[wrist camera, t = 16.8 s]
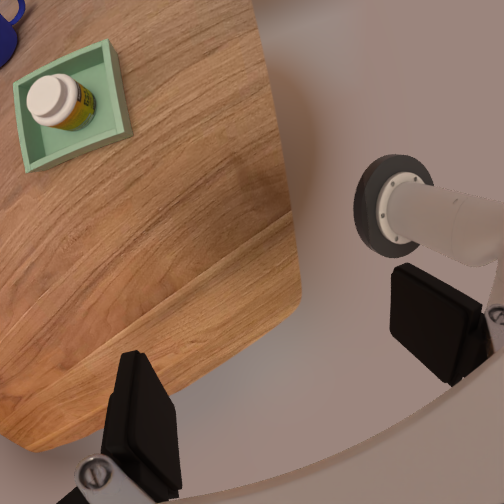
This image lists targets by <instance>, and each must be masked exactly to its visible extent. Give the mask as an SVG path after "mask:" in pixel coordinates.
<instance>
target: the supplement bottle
mask: <svg viewBox="0 0 504 504" xmlns="http://www.w3.org/2000/svg"><path fill="white" fill-rule="evenodd" d="M27 107H28V110H29V111H30V112H31V114H32V117H33V118H34V120H35V121H36V122H37V123H38V124H40V125H43V126H47V127H52V128H57V129H62V130H66V131H78V130H80V129H82V128H84V127H85V126H87V125H88V124H89V123H90V121H91V120H92V118H93V117H94V114H95V111H96V100H95V97H94V95H93V94H92V93H91V92H90V91H89V90H88V89H86V88H85V87H84V86H82V85H81V84H80V83H78V82H77V81H75V80H74V79H73V78H71V77H70V76H68V75H66V74H54V75H51V76H50V75H48V76H44V77H41V78H40V79H38V80H37V81H36V82H35V83H34V84H33V85H32V86H31V88H30V90H29V92H28V95H27Z"/></svg>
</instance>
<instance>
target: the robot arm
mask: <svg viewBox="0 0 504 504" xmlns="http://www.w3.org/2000/svg"><path fill="white" fill-rule="evenodd" d="M376 219H377V224H378V227H379V229H380V231H381V233H382V234H383V236H384V237H385V238H386V239H388V240H389V241H391V242H393V243H396V244H405V243H408V242H410V241H414V242H416V243H418V244H421V245H423V246H425V247H427V248H430V249H432V250H434V251H436V252H438V253H440V254H443V255H445V256H447V257H449V258H451V259H454V260H455V261H458V262H460V263H462V264H464V265H467V266H470V267H481V266H485V265H487V264H489V263H491V262H493V261H495V260H497V259H498V266H497V271H496V276H495V280H494V284H493V287H492V290H491V294H490V297H489V301H488V304H487V307H486V310H485V313H484V314H483V313H481V310H482V304H480V303H479V302H477V301H475V300H474V299H472V298H470V297H469V296H467V295H465V294H464V293H462V292H460V291H458V290H457V289H455V288H453V287H452V286H450V285H448V284H446V283H444V282H443V281H441V280H439V279H437V278H436V277H434V276H432V275H430V274H428V273H427V272H425V271H423V270H421V269H419V268H417V267H415V266H414V265H412V264H410V263H404V264H402V265H399V266H397V267H395V268H394V271H393V273H392V274H391V308H390V332H391V334H392V336H393V337H394V338H395V339H397V340H398V341H399V342H400V343H401V344H402V345H403V346H404V347H405V348H407V350H409V351H410V352H411V353H412V354H413V355H414V356H415V357H416V358H417V359H418V360H420V361H421V362H422V363H423V364H424V365H425V366H426V367H427V368H428V369H429V370H430V371H431V372H432V373H434V374H435V375H436V376H437V377H438V378H439V379H440V380H441V381H442V382H444V383H448V384H449V385H450V386H451V387H452V388H451V389H449V390H448V391H446V392H445V393H444V394H442V395H441V396H439V397H438V398H436V399H435V400H433V401H432V402H431V403H429V404H428V405H426V406H424V407H423V408H422V409H420V410H418V411H417V412H415V413H413V414H412V415H410V416H409V417H407V418H405V419H404V420H402V421H400V422H399V423H397V424H395V425H393V426H392V427H390V428H388V429H386V430H384V431H383V432H381V433H379V434H377V435H375V436H373V437H371V438H370V439H367V440H365V441H363V442H361V443H359V444H357V445H355V446H353V447H351V448H349V449H346V450H345V451H342V452H340V453H338V454H335V455H333V456H331V457H328V458H326V459H323V460H321V461H318V462H316V463H313V464H311V465H309V466H306V467H303V468H300V469H297V470H295V471H292V472H289V473H286V474H283V475H280V476H277V477H273V478H270V479H267V480H263V481H260V482H256V483H253V484H249V485H245V486H241V487H237V488H233V489H229V490H225V491H221V492H216V493H211V494H206V495H200V496H195V497H189V498H184V499H178V500H173V501H169V499H174V498H179V494H178V490H180V489H182V478H181V469H180V460H179V448H178V437H177V423H176V411H175V407H174V404H173V403H172V401H171V399H170V398H169V396H168V394H167V392H166V391H165V389H164V387H163V386H162V384H161V382H160V380H159V378H158V377H157V375H156V373H155V371H154V369H153V368H152V366H151V364H150V362H149V360H148V358H147V356H146V355H145V353H140V352H139V351H138V350H135V351H130V352H126V353H123V354H122V355H121V358H120V363H119V367H118V372H117V377H116V382H115V387H114V392H113V393H112V394H111V395H110V398H109V403H108V408H107V414H106V420H105V426H104V432H103V439H102V446H101V454H93V455H89V456H87V457H85V458H84V459H83V460H82V461H80V463H79V464H78V465H77V467H76V469H75V473H74V478H75V482H76V484H77V487H75V488H74V489H73V490H72V491H71V492H70V493H68V494H67V495H66V496H65V497H64V498H63V499H61V500H60V501H59V502H58V503H56V504H504V203H503V202H499V201H495V200H490V199H486V198H482V197H478V196H474V195H470V194H466V193H462V192H458V191H452V190H449V189H444V188H439V187H435V186H430V185H425V184H424V182H423V181H422V179H421V178H420V177H418V176H417V175H415V174H413V173H409V172H399V173H396V174H394V175H392V176H391V177H390V178H389V179H388V180H387V181H386V182H385V183H384V185H383V187H382V188H381V190H380V193H379V195H378V199H377V203H376ZM462 377H464V379H462Z"/></svg>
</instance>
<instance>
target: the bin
mask: <svg viewBox="0 0 504 504" xmlns="http://www.w3.org/2000/svg"><path fill="white" fill-rule="evenodd" d="M54 74H66V75H68V76H70V77H71V78H73V79H74V80H75V81H77V82H78V83H80V84H81V85H82V86H84V87H85V88H86V89H88V90H89V91H90V92H91V93H92V94H93V95H94V97H95V100H96V111H95V114H94V117H93V118H92V120H91V121H90V123H89V124H88V125H87V126H85V127H84V128H82V129H80V130H78V131H66V130H62V129H57V128H52V127H47V126H43V125H40V124H38V123H37V122H36V121H35V120H34V118H33V117H32V114H31V112H30V111H29V110H28V107H27V95H28V92H29V90H30V88H31V86H32V85H33V84H34V83H35V82H36V81H37V80H38V79H40V78H41V77H44V76H48V75H50V76H51V75H54ZM13 92H14V103H15V113H16V121H17V128H18V134H19V140H20V146H21V152H22V157H23V162H24V166H25V171H26V173H31V172H37V171H44V170H48V169H50V168H52V167H54V166H57V165H59V164H61V163H63V162H66V161H68V160H70V159H73V158H75V157H78V156H80V155H83V154H85V153H88V152H90V151H93V150H95V149H98V148H101V147H103V146H106V145H109V144H112V143H114V142H117V141H120V140H123V139H126V138H129V137H132V136H133V132H132V128H131V123H130V119H129V114H128V109H127V104H126V99H125V94H124V89H123V83H122V78H121V72H120V66H119V60H118V54H117V52H116V51H115V49H114V47H113V46H112V44H111V43H110V41H109V39H105V40H102V41H100V42H97V43H94V44H92V45H89V46H87V47H84V48H82V49H79V50H77V51H75V52H72V53H70V54H68V55H66V56H64V57H61V58H59V59H57V60H55V61H53V62H51V63H49V64H47V65H45V66H43V67H41V68H39V69H37V70H35V71H34V72H32V73H30V74H28V75H26V76H25V77H23V78H21V79H19V80H17V81H16V82H14V83H13Z"/></svg>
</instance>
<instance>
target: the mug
mask: <svg viewBox="0 0 504 504" xmlns="http://www.w3.org/2000/svg"><path fill="white" fill-rule="evenodd" d="M18 3H19V11H18V13H17V15H16V16H15V18H14V19H13V20H12V21H10V22H8V21H7V20H6V19H5V18H4V17H3V16H2V15H1V14H0V67H1V66H3V65H4V64H5V63H6V62H7V61H8V60H9V58H10V57H11V56H12V54H13V52H14V50H15V48H16V45H17V34H16V32H15V30H14V29H13V27H12V25H14V24H16V23H17V22H18V21H19V20H20V19H21V17H22V16H23V14H24V12H25V1H24V0H18Z"/></svg>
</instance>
